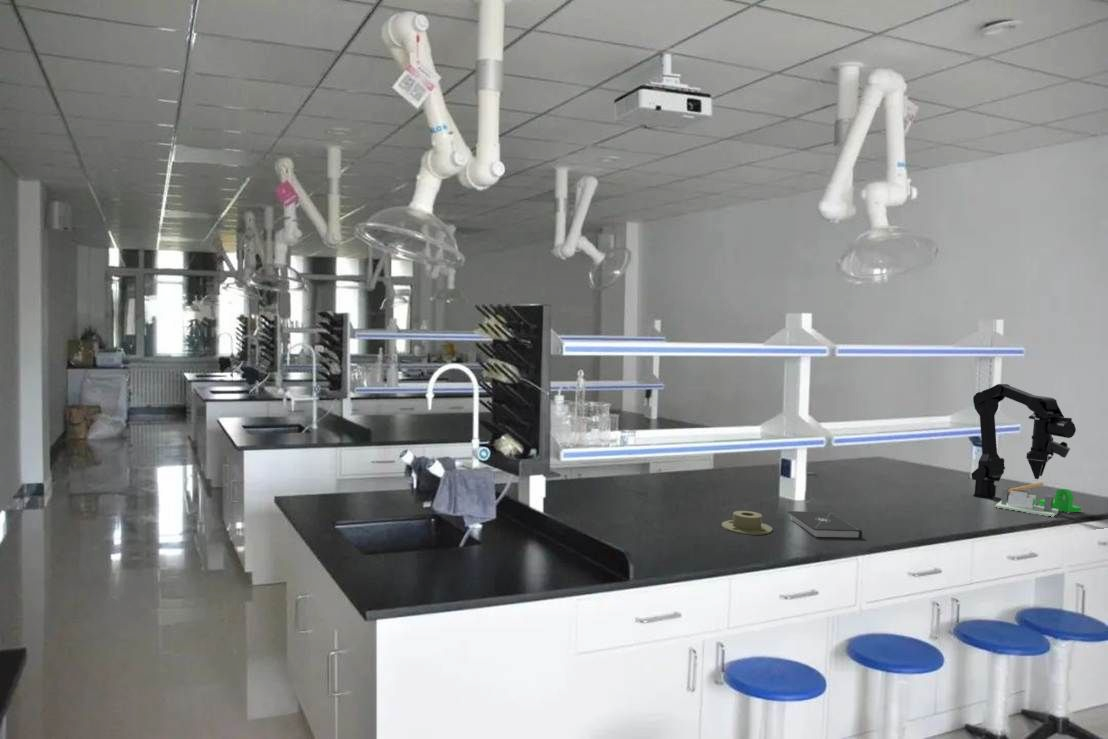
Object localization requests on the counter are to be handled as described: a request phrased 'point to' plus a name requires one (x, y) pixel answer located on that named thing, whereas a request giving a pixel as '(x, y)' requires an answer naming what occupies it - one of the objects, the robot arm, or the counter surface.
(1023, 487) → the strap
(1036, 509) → the board
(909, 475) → the counter surface
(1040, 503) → the mechanical part
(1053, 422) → the robot arm
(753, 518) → the flange
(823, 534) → the book
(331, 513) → the counter surface
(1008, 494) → the electronic module
